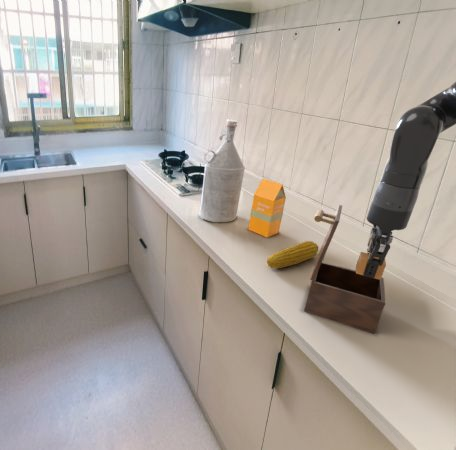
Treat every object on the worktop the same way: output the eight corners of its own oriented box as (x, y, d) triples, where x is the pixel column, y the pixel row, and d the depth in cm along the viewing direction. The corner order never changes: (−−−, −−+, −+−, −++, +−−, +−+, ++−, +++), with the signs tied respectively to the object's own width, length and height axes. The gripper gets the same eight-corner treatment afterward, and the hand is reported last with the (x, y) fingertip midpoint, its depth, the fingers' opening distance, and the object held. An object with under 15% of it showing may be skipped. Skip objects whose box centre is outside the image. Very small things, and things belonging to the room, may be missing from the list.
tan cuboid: (379, 272, 80) (385, 257, 78) (380, 280, 77) (386, 264, 75) (355, 266, 82) (360, 251, 80) (355, 273, 79) (360, 258, 77)
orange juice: (259, 224, 137) (268, 177, 129) (279, 232, 130) (289, 182, 122) (247, 229, 132) (255, 180, 124) (267, 237, 126) (276, 186, 118)
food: (304, 252, 116) (308, 236, 114) (318, 259, 112) (323, 243, 109) (261, 267, 106) (264, 250, 103) (275, 275, 102) (279, 258, 99)
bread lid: (342, 205, 85) (321, 199, 87) (339, 221, 75) (315, 214, 77) (319, 259, 93) (300, 252, 95) (313, 281, 83) (292, 273, 85)
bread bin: (373, 305, 90) (383, 277, 86) (373, 333, 80) (385, 303, 76) (310, 287, 97) (317, 260, 93) (303, 310, 86) (311, 281, 83)
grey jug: (192, 213, 145) (200, 117, 129) (227, 210, 151) (240, 117, 135) (205, 225, 134) (216, 121, 118) (243, 221, 140) (258, 121, 124)
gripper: (417, 218, 65) (388, 292, 72) (409, 198, 76) (385, 263, 83) (373, 209, 68) (349, 281, 75) (371, 191, 80) (351, 255, 87)
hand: (368, 271), depth 79 cm, fingers closed on tan cuboid, 4 cm apart
